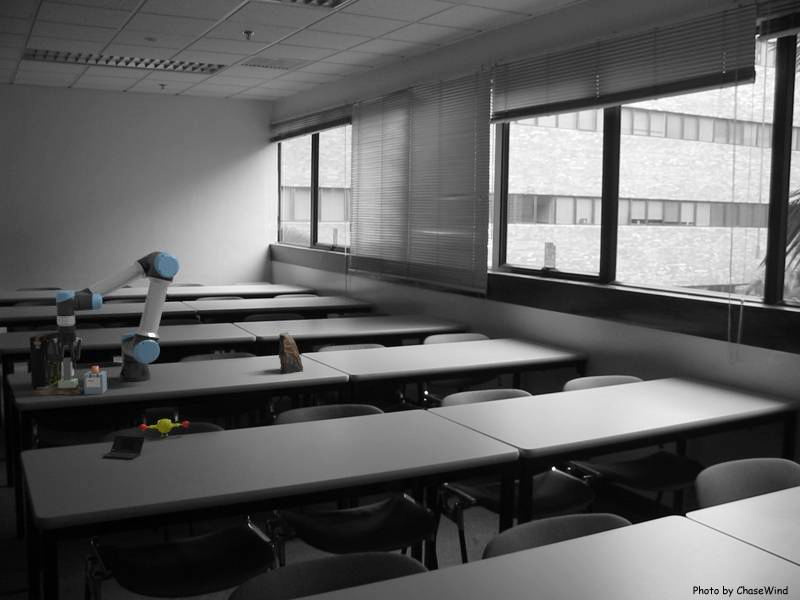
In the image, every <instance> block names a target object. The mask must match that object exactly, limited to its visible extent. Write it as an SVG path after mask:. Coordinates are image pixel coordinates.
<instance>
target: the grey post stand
mask: <svg viewBox="0 0 800 600" xmlns="http://www.w3.org/2000/svg"><path fill="white" fill-rule="evenodd" d="M71 361H72V359H71V357H63V372H64V376H63V378H61V380H59V381H58V384H57V385H58V386H57V387H58V388H75V387H76V386H78V385H79V378H74V377H73V376H71V371H70V362H71Z"/></svg>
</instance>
